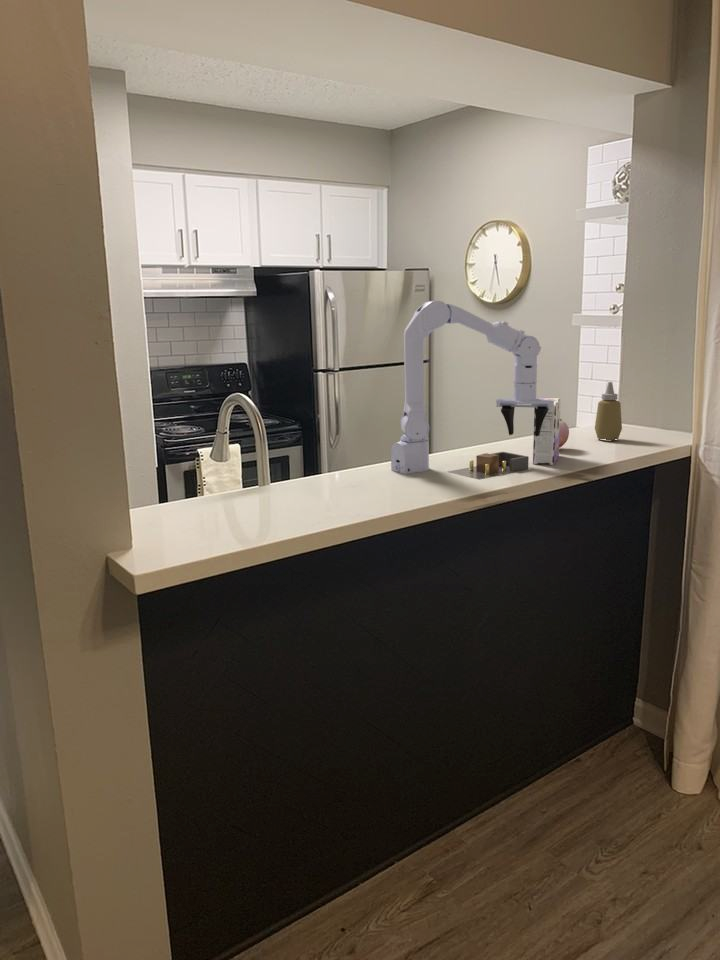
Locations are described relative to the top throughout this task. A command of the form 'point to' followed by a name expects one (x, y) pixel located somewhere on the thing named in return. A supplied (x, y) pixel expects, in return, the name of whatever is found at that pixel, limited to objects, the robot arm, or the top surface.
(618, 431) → the squeeze bottle
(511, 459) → the housing
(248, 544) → the top surface
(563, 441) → the decorative fruit
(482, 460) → the walnut block
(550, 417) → the candy box
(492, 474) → the base plate
